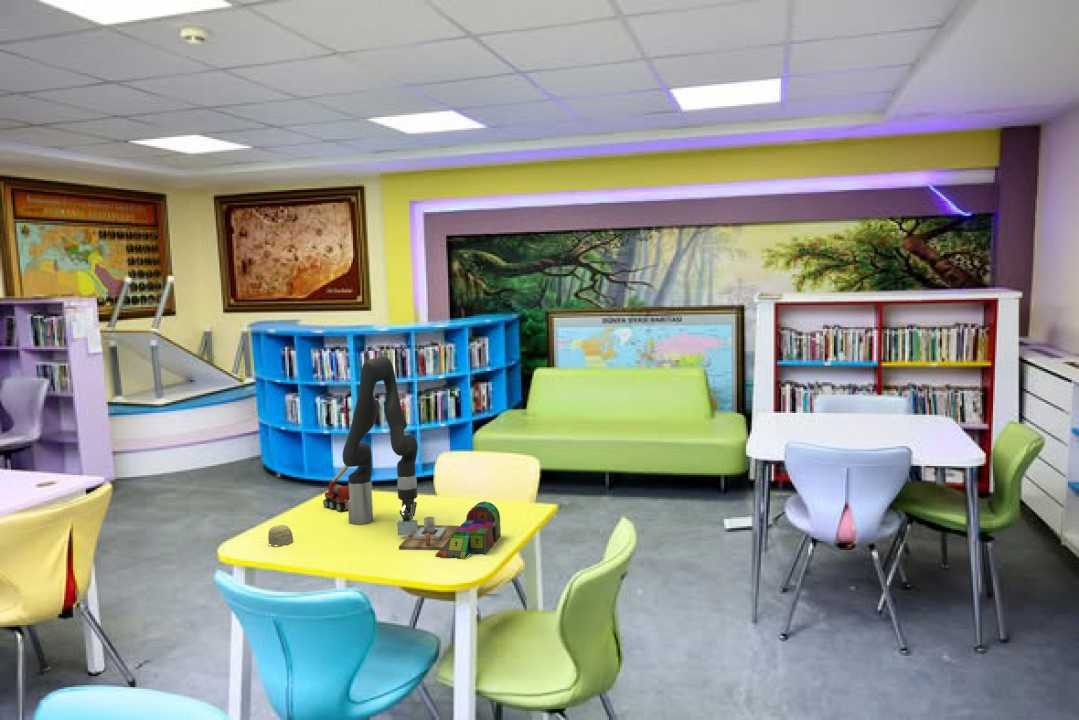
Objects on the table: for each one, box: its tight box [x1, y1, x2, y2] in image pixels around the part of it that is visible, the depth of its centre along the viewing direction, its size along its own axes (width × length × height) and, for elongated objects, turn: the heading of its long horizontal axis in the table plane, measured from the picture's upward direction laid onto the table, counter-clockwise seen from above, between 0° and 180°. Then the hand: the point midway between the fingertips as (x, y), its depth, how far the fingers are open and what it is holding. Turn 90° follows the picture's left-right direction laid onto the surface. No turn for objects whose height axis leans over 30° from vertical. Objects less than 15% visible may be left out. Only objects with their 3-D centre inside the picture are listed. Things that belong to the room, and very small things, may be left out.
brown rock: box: [267, 524, 294, 547], centre depth 304 cm, size 9×10×10 cm
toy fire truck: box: [322, 464, 350, 513], centre depth 349 cm, size 11×16×18 cm
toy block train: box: [435, 501, 502, 560], centre depth 292 cm, size 25×17×14 cm
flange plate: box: [396, 519, 446, 540], centre depth 303 cm, size 18×10×6 cm, turn 83°
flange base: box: [398, 516, 460, 551], centre depth 303 cm, size 17×25×8 cm
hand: (409, 529), depth 309 cm, fingers closed
